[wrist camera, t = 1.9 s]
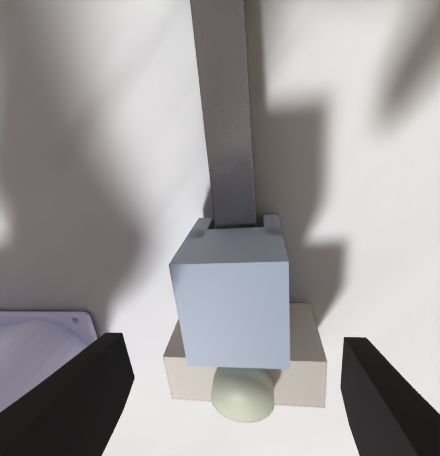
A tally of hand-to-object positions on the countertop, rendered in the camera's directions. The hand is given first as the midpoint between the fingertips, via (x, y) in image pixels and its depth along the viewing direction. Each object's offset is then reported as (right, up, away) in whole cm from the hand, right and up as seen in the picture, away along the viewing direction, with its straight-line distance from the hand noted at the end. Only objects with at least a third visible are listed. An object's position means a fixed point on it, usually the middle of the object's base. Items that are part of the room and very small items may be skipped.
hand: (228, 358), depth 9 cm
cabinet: (+1, -2, +9) cm, 9 cm away
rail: (0, +7, +6) cm, 9 cm away
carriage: (+1, +3, +7) cm, 8 cm away
